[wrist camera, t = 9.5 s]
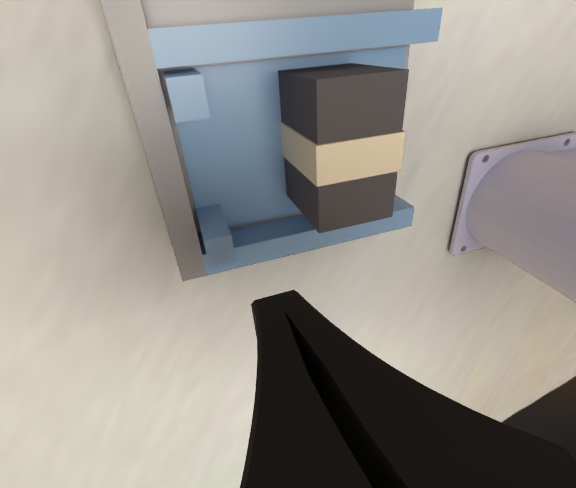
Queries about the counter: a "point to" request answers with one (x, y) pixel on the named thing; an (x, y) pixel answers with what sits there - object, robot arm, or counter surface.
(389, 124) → the dark striped block
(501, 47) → the counter surface
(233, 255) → the board
